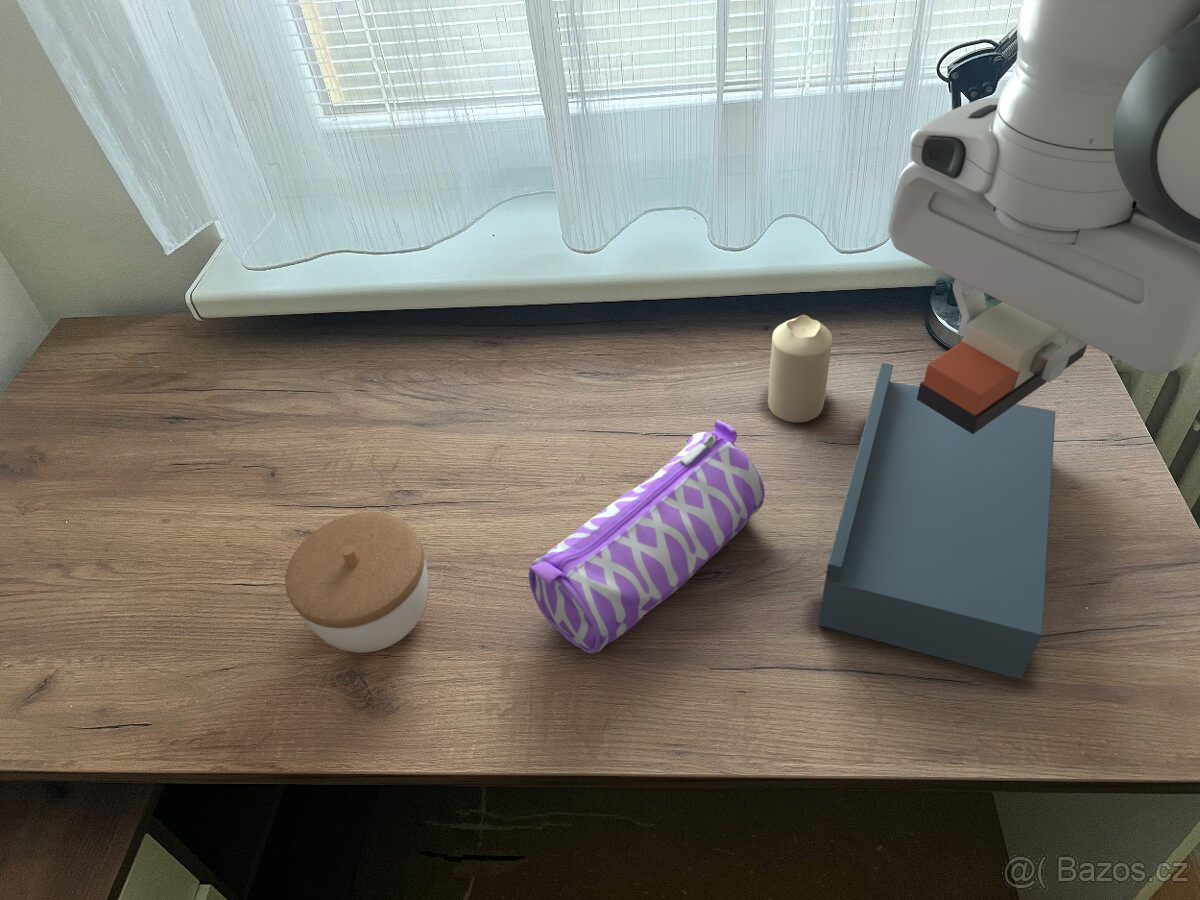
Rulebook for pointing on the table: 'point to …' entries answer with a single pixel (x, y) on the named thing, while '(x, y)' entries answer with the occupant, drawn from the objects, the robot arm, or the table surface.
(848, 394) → the table surface
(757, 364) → the table surface
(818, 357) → the candle
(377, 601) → the trinket box
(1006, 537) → the grey lipped base tray
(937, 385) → the cream and orange block
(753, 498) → the pencil case
